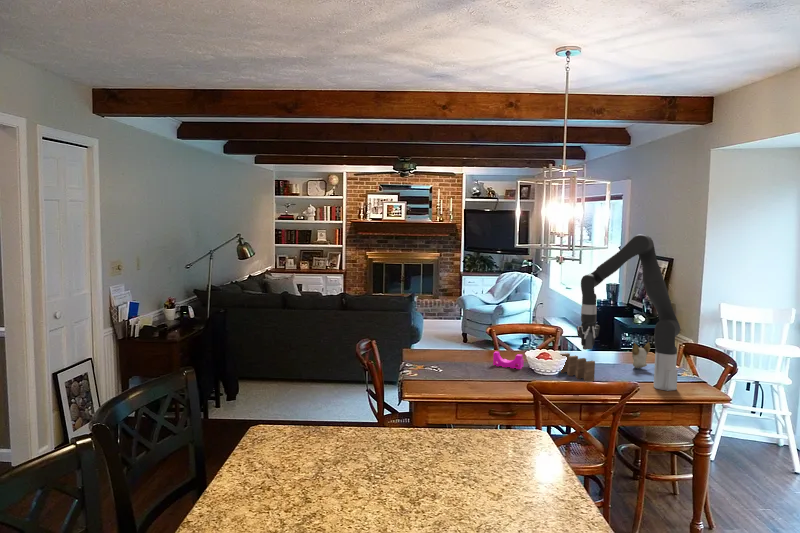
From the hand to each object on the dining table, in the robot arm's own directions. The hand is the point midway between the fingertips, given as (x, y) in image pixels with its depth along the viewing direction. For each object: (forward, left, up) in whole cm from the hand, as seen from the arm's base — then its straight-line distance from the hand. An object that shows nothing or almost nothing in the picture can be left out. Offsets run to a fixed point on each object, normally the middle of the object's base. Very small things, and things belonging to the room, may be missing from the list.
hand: (587, 345), depth 294 cm
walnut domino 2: (0, +10, -15) cm, 18 cm away
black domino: (0, 0, -2) cm, 2 cm away
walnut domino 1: (+6, +10, -15) cm, 19 cm away
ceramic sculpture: (-2, -34, -15) cm, 37 cm away
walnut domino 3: (-6, +10, -15) cm, 19 cm away
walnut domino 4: (-12, +10, -15) cm, 22 cm away
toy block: (+27, +30, -15) cm, 43 cm away
